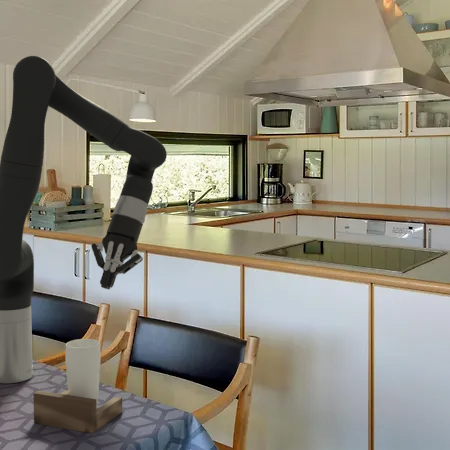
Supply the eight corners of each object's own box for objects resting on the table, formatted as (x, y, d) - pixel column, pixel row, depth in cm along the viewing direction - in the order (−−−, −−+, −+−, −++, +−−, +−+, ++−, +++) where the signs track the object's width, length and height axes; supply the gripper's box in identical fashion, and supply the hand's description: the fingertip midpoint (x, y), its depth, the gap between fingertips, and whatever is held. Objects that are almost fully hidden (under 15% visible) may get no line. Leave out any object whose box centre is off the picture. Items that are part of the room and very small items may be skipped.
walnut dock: (67, 403, 129) (67, 375, 129) (122, 411, 125) (122, 383, 124) (34, 423, 119) (33, 393, 118) (92, 433, 114) (91, 402, 114)
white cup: (74, 426, 118) (73, 349, 116) (61, 414, 123) (60, 342, 122) (106, 418, 122) (105, 344, 120) (92, 407, 127) (91, 336, 126)
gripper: (97, 207, 143) (73, 278, 138) (149, 219, 140) (126, 291, 135) (107, 217, 150) (85, 285, 145) (157, 229, 147) (136, 298, 142)
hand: (105, 288), depth 140 cm, fingers closed
